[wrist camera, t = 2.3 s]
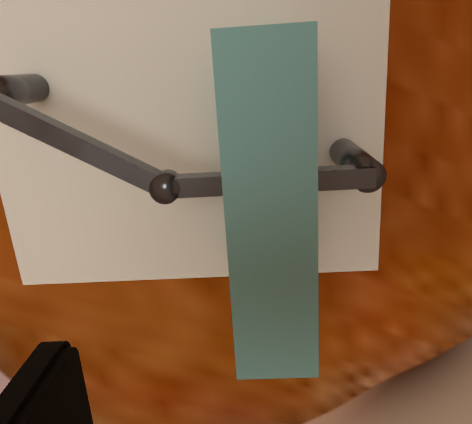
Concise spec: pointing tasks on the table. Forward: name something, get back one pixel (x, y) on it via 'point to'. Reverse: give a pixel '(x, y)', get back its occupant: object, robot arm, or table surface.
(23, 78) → the dark hinged linkage
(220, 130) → the teal rectangular frame
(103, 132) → the base board
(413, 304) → the table surface
